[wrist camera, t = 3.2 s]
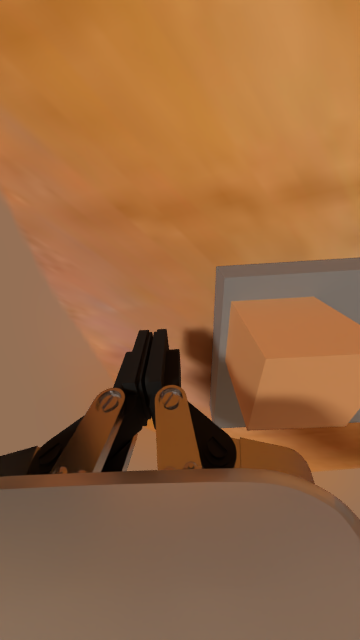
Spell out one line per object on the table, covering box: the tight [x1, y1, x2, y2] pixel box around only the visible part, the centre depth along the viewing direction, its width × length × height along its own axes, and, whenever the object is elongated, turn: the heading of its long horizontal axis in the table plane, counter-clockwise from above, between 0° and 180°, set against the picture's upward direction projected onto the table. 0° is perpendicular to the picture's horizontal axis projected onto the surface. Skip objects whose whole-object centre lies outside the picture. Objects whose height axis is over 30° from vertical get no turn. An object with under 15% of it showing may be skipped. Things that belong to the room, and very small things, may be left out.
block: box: [225, 297, 360, 430], centre depth 10 cm, size 5×5×5 cm
